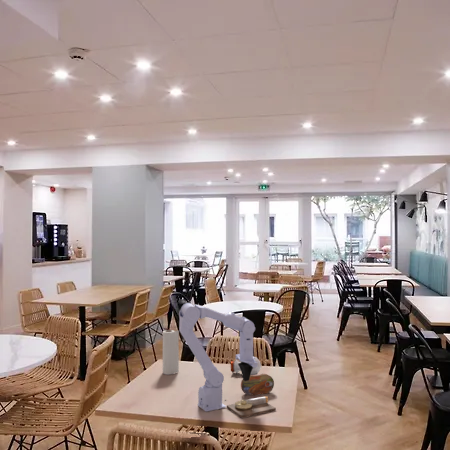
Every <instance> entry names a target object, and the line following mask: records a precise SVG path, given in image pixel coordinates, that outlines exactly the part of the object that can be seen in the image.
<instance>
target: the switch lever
mask: <svg viewBox="0 0 450 450" xmlns="http://www.w3.org/2000/svg"><path fill="white" fill-rule="evenodd" d="M263 403H268V404H269V397H268V396H260V397H255V398H249V399H241V400H237V401H236V402H234V404H235V408H236V409H239V410H249V409H251V408H252V405H257V404H263Z"/></svg>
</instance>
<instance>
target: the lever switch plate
mask: <svg viewBox="0 0 450 450" xmlns="http://www.w3.org/2000/svg"><path fill="white" fill-rule="evenodd" d="M226 408H227V410H229V411H231V412H232V413H234V414H235V415H237V416H238V417H240V418H241V419H245V418H248V417H253V416H258V415H262V413H263V414H266V412H267V413H271V412H275V410H276V411H277V408H276V407H275V406H273V405H272V404H269V402H268V403H263V404H257V405H252V408H251V409H249V410H239V409H236V408H235V403H232V404H226Z"/></svg>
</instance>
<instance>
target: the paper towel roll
mask: <svg viewBox="0 0 450 450" xmlns="http://www.w3.org/2000/svg"><path fill="white" fill-rule="evenodd" d="M179 334H180V330H173V329H166V330H163V331H162V373H163V375H174V374H176V373H178V372H179V369H180V368H179V367H180V366H179V365H180V364H179V359H180V358H179V356H180V355H179V352H180V351H179V346H180V345H179V342H180V340H179V338H180V337H179Z"/></svg>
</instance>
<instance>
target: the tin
mask: <svg viewBox="0 0 450 450" xmlns="http://www.w3.org/2000/svg"><path fill="white" fill-rule="evenodd" d="M274 387H275V382H274V378H273V376H271V375H270V374H267V373H259V374H256V375H250V379H249V380H248V381H244V380H243V378H242V379H241V382H240V389H241V391H242V392H243V394H245V395H247V396H251V397H252V396H258V395H266V394H267V395H268V394H269V393H270V392H272V391H273V389H274Z"/></svg>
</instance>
